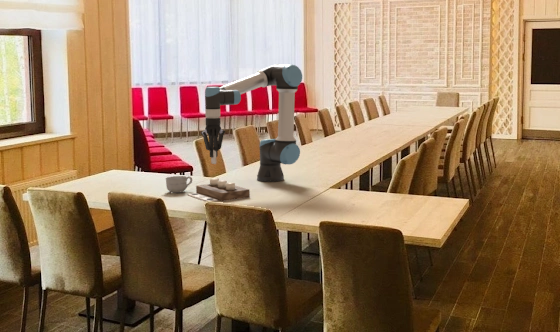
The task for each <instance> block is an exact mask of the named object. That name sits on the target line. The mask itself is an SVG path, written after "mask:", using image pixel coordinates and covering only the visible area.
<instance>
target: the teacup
mask: <svg viewBox="0 0 560 332" xmlns="http://www.w3.org/2000/svg"><path fill="white" fill-rule="evenodd" d="M188 179H189V182H187V181H188ZM165 181H166V183H165V185H166V190H167V191H169V192H170V193H171V194H173V193H174V194H177V193H183V192H184V191H185V190H186V189H187V188H188V187H189V186H190V185H191V184H192V183H193V177H192V176H186V175H185V176H184V175H177V176H176V175H175V176H168V177H167V176H166V178H165Z"/></svg>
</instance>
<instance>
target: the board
mask: <svg viewBox="0 0 560 332" xmlns="http://www.w3.org/2000/svg"><path fill="white" fill-rule="evenodd" d="M195 187H196V188H195V189H196V190H195V191H196V192H195V193H198V194H201V195H204V196H208V197H211V198H214V199H217V200H218V201H219V202H226V201H234V200H240V199H247V198H250V197H251V196H250V195H251V194H250V192H251V191H250V189H249V188H245V187H241V186H237V185H235V190H226V187H225V188H218V185H215V186H213V185H210V183H206V184H199V185H196V186H195Z"/></svg>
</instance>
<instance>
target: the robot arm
mask: <svg viewBox="0 0 560 332" xmlns="http://www.w3.org/2000/svg"><path fill="white" fill-rule="evenodd" d="M302 81H303V73H302V70H301V69H300V67H299V66H297V65H295V64H292V63H288V64H286V63H285V64H282V63H281V64H280V63H278V64H273V65H269V66H268V67H264V68H262V69H259V70H258V71H257V72H256V73H255V74H251V75H249V76H247V77H243V78H241V79H238V80H236V81H233V82H230V83H228V84H224V85H222V86H206V87H205V90H204V104H205V105H204V106H205V107H204V108H205V117H206V118H205V129H204V130H203V131H201V132H200V134H201V135H202V137H203V143H204V146H205V149H206V150H207V151H209V157H210V159H211V160H210V164H212V165H216V164H217V158H218V155H219V154H218V152H219V150H221V149H222V144H223V140H224V135H225V133H226V130H225V129H222V127H221V118H220V117H221V106H229V105H232V106H234V105H238V104H240V102H241V100H242V97H241V95H243V94H246V93H248V92H250V91H254V90H256V89H258V88H261V87H262V88H266V87H270V86H276V89H275V90H276V91H277V92H278V113H277V114H278V115H277V117H278V118H277V119H278V121H277V125H278V126H277V137H276V138H270V139H262V140H260V141H259V169H258V172H257V174H256V180H257V181H259V182H268V183H269V182H280V181H284V180H285V175H284V172H283V169H282V166H281V164H283V165H293V164H295V163H296V162H297V161H298V160H299V158H300V154H301V149H300V147H299V145H297V139H296V138H295V136H294V135H295V134H294V130H295V129H294V128H295V101H296V99H295V98H296V97H295V95H296V94H295V93H297V91H298V88H299V85H301V83H302Z"/></svg>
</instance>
